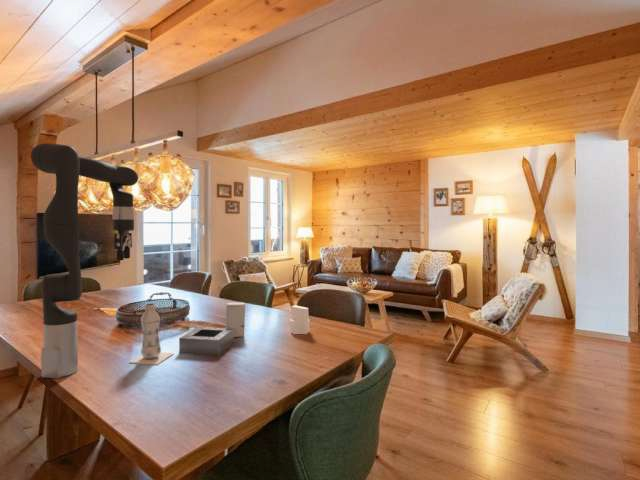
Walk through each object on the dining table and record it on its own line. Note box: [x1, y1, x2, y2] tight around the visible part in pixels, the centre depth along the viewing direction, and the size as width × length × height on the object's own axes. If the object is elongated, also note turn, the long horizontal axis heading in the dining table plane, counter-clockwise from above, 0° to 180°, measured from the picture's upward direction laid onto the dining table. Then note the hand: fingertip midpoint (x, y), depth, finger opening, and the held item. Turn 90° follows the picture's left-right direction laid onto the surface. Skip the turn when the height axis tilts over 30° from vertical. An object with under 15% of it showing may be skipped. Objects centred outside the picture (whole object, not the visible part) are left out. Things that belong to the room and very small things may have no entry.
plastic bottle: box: [140, 303, 162, 359], centre depth 136 cm, size 6×7×20 cm
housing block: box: [178, 326, 235, 357], centre depth 150 cm, size 16×16×6 cm
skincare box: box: [225, 301, 246, 338], centre depth 167 cm, size 8×6×15 cm
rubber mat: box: [128, 352, 175, 366], centre depth 137 cm, size 11×11×1 cm
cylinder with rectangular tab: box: [289, 304, 310, 335], centre depth 173 cm, size 9×9×12 cm
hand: (123, 259), depth 145 cm, fingers open, 8 cm apart
